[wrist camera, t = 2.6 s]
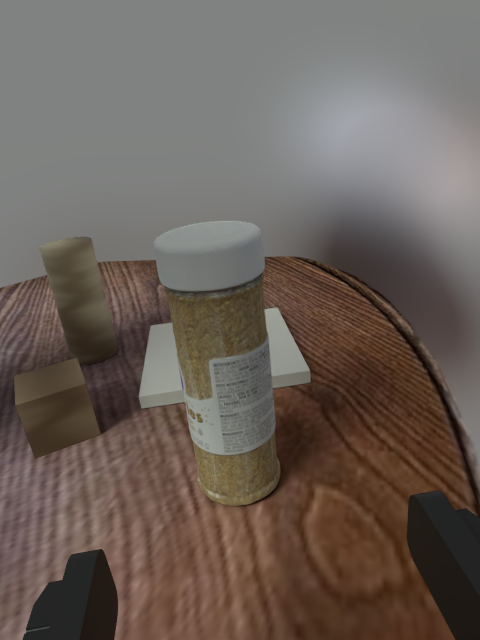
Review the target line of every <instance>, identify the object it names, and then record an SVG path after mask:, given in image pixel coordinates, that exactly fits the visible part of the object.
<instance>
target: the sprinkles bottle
mask: <svg viewBox="0 0 480 640" xmlns="http://www.w3.org/2000/svg"><path fill="white" fill-rule="evenodd" d="M154 252H155V258H156V264H157V269H158V274H159V280H160V282H161V283H162V284H163V285H164V286H165V293H166V294H167V296H168V303H169V309H170V314H171V321H172V324H173V325H172V326H173V333H174V337H175V343H176V348H177V360H178V366H179V371H180V378H181V383H182V389H183V395H184V400H185V405H186V411H187V417H188V423H189V429H190V434H191V437H192V439H193V445H194V451H195V456H196V462H197V468H198V469H197V481H198V484H199V486H200V489H201V490H202V492H203V493H204V494H205V495H206V496H207V497H209V498H210V499H211V500H212V501H214V502H217V503H220V504H223V505H228V506H240V505H248V504H251V503H253V502H255V501H257V500H260V499H262V498H264V497H265V496H267V495H269V494H270V493H271V492H272V490H273V489H275V488H276V485H277V483H278V481H279V478H280V472H281V469H280V463H279V460H278V458H277V454H276V440H275V431H274V430H275V424H276V423H275V410H274V398H273V384H272V372H271V360H270V348H269V336H268V332H267V328H266V317H265V308H264V298H263V287H262V280H263V278H264V275H263V273H262V272H263V270H264V268H265V261H264V249H263V241H262V233H261V230H260V229H259V227H257V226H256V225H254V224H252V223H248V222H243V221H213V222H204V223H197V224H191V225H187V226H182V227H179V228H175V229H172V230H170V231H167V232H165V233H164V234H162V235H160V236H159V237H158V238H157V239H156V240H155V242H154Z"/></svg>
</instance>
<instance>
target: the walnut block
mask: <svg viewBox="0 0 480 640" xmlns="http://www.w3.org/2000/svg"><path fill="white" fill-rule="evenodd" d="M14 386H15V406H16V409H17V411H18V414H19V417H20V419H21V422H22V425H23V427H24V430H25V433H26V435H27V438H28V441H29V443H30V446H31V449H32V452H33V454H34V457H35V458H38V457H41V456H44V455H46V454H49V453H52V452H55V451H57V450H60V449H63V448H66V447H69V446H71V445H74V444H77V443H80V442H82V441H85V440H88V439H91V438H93V437H96V436H99V435H101V434H100V430H99V427H98V423H97V420H96V416H95V413H94V409H93V406H92V402H91V399H90V395H89V392H88V388H87V385H86V382H85V379H84V376H83V373H82V370H81V367H80V365H79V362H78V359H77V358H73V359H70V360H67V361H63V362H60V363H56V364H53V365H49V366H46V367H42V368H39V369H36V370H32V371H29V372H25V373H22V374H18V375H15V376H14Z"/></svg>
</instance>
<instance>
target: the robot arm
mask: <svg viewBox="0 0 480 640" xmlns="http://www.w3.org/2000/svg"><path fill="white" fill-rule="evenodd" d="M407 541H408V546H409V550H410V553H411V556H412V558H413V561H414V563H415V565H416V566H417V568H418V570H419V572H420V574H421V576H422V578H423V580H424V581H425V583H426V585H427V587H428V589H429V591H430V593H431V595H432V596H433V598H434V600H435V602H436V604H437V606H438V608H439V609H440V611H441V613H442V615H443V617H444V619H445V621H446V623H447V624H448V626H449V628H450V630H451V632H452V634H453V636H454V638H455V639H456V640H480V518H479V517H477V516H476V515H475V514H473V513H472V512H470V511H469V510H468V509H466V508H465V509H459V510H455V509H454V507H453V506H452V505H451V503H450V502H449V500H448V499H447V498H446V496H445V495H444V494H443V493H442V492H441V491H432V492H426V493H421V494H415V495H411V496H410V497H409V506H408V524H407ZM117 615H118V597H117V590H116V586H115V583H114V580H113V577H112V574H111V571H110V568H109V565H108V562H107V559H106V556H105V553H104V551H103V550H102V549H99V550H93V551H88V552H82V553H76V554H72V555H71V556H70V557H69V559H68V562H67V565H66V569H65V573H64V576H63V580H60V581H55V582H49V583H48V585H47V586H46V588H45V589H44V591H43V592H42V594H41V595H40V596H39V598H38V599H37V601H36V602H35V604H34V606H33V609H32V612H31V615H30V618H29V621H28V624H27V628H26V634H24V637H23V640H114V637H115V630H116V623H117Z"/></svg>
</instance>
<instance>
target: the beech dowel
mask: <svg viewBox="0 0 480 640" xmlns="http://www.w3.org/2000/svg"><path fill="white" fill-rule="evenodd" d="M39 249H40V252H41V256H42V259H43V262H44V266H45V269H46V272H47V276H48V279H49V283H50V286H51V290H52V293H53V296H54V300H55V303H56V306H57V310H58V313H59V317H60V320H61V323H62V327H63V330H64V334H65V337H66V340H67V344H68V347H69V350H70V354H71V357H72V359H73V358H77V359H78V362H79V364H93V363H97V362H101V361H103V360H106V359H108V358H110V357H111V356H113V355H114V354H115V353H116V352H117V350H118V346H117V342H116V338H115V334H114V330H113V325H112V321H111V317H110V313H109V309H108V305H107V301H106V297H105V293H104V289H103V285H102V280H101V276H100V272H99V268H98V264H97V260H96V256H95V252H94V248H93V244H92V240H91V238H89V237H74V238H67V239H61V240H57V241H53V242H50V243H47V244H44V245H42V246H41V247H40V248H39Z"/></svg>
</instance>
